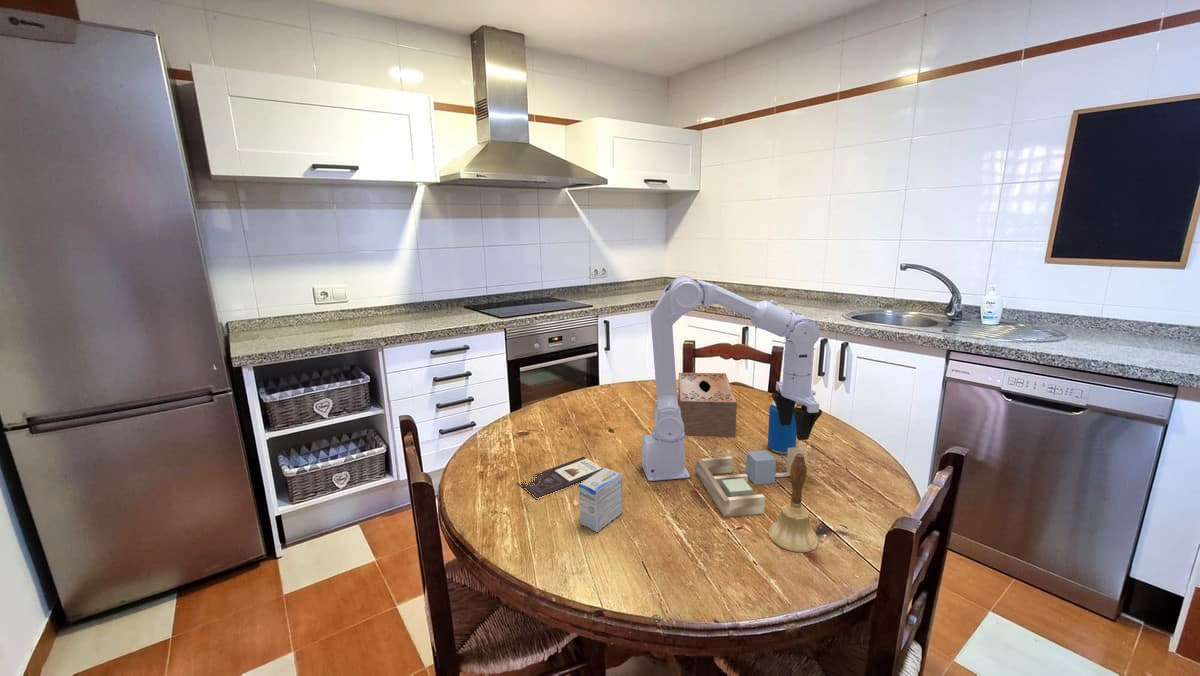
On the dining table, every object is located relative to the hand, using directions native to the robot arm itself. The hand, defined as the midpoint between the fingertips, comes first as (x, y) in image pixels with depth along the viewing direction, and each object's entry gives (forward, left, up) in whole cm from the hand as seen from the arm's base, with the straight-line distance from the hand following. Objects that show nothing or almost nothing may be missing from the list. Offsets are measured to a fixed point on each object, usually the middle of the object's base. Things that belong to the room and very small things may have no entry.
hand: (793, 431), depth 103 cm
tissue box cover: (-9, +34, -10) cm, 37 cm away
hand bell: (-11, -21, -10) cm, 26 cm away
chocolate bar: (-51, +6, -11) cm, 52 cm away
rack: (-17, -5, -10) cm, 20 cm away
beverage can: (+3, +11, -10) cm, 15 cm away
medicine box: (-44, -11, -10) cm, 46 cm away
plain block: (-16, -9, -10) cm, 21 cm away
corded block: (-4, -1, -10) cm, 11 cm away
